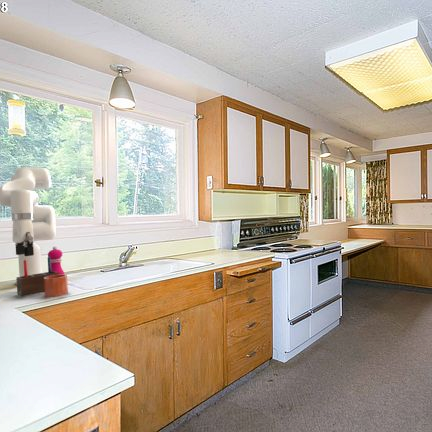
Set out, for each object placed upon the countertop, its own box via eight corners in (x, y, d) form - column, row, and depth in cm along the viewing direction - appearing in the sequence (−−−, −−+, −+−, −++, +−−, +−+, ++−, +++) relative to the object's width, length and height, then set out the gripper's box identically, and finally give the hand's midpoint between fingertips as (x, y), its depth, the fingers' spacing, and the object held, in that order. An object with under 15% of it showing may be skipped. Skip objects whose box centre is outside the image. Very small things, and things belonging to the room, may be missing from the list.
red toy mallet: (24, 294, 144) (22, 259, 143) (27, 293, 145) (25, 259, 144) (26, 294, 143) (24, 260, 142) (29, 294, 143) (27, 260, 143)
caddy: (17, 296, 143) (16, 277, 143) (54, 288, 155) (53, 271, 155) (22, 298, 140) (20, 278, 140) (59, 290, 152) (58, 272, 152)
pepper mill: (68, 283, 166) (66, 245, 165) (57, 287, 158) (55, 247, 157) (56, 283, 166) (54, 245, 165) (44, 286, 159) (42, 247, 158)
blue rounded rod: (48, 289, 152) (46, 256, 151) (50, 288, 153) (49, 256, 152) (50, 289, 150) (48, 257, 150) (53, 289, 151) (51, 256, 151)
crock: (41, 297, 141) (40, 277, 141) (63, 292, 148) (62, 273, 148) (49, 300, 137) (48, 279, 136) (71, 295, 144) (70, 275, 143)
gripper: (5, 217, 144) (7, 255, 144) (19, 217, 134) (21, 257, 135) (25, 217, 150) (27, 252, 151) (40, 216, 141) (42, 255, 141)
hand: (24, 255), depth 143 cm, fingers open, 9 cm apart
